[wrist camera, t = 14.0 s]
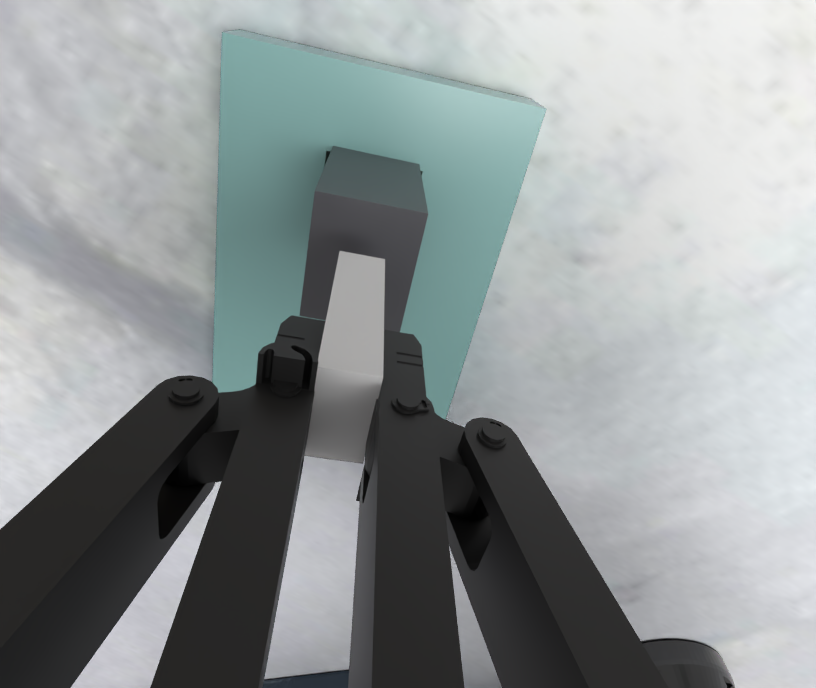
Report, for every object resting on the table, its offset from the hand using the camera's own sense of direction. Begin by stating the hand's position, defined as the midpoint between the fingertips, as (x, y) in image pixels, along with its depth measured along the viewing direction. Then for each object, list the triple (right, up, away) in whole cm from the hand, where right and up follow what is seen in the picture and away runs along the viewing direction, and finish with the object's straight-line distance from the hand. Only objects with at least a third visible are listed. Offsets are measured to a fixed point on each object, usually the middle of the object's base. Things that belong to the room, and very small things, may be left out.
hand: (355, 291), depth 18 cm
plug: (0, +6, +10) cm, 12 cm away
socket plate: (-1, +2, +13) cm, 13 cm away
